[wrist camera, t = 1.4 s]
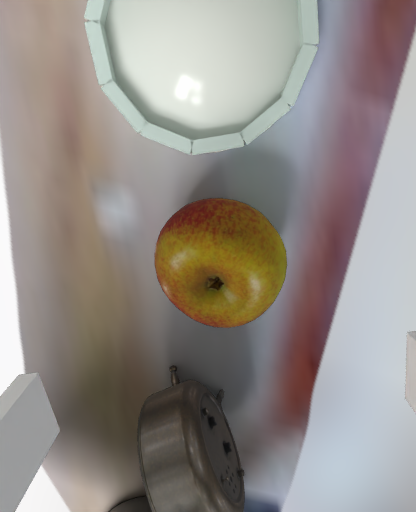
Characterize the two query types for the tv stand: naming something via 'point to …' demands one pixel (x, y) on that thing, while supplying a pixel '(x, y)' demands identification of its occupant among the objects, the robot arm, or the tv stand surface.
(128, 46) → the dish
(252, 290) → the fruit
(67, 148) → the tv stand surface
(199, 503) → the alarm clock
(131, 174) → the tv stand surface
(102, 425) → the tv stand surface
